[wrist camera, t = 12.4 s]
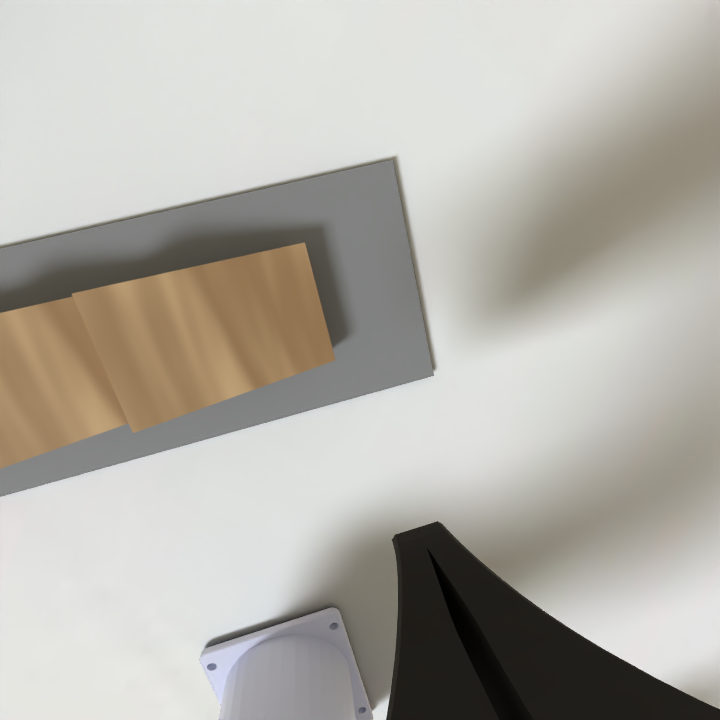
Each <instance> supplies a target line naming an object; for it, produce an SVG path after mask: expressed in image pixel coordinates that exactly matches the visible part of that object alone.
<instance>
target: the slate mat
mask: <svg viewBox="0 0 720 720" xmlns="http://www.w3.org/2000/svg"><path fill="white" fill-rule="evenodd" d="M304 242H305V245H306V248H307V252H308V256H309V260H310V264H311V268H312V272H313V275H314V279H315V283H316V287H317V291H318V295H319V298H320V302H321V306H322V310H323V314H324V318H325V322H326V325H327V329H328V333H329V337H330V341H331V345H332V348H333V352H334V356H335V361H332V362H329V363H327V364H324V365H321V366H318V367H316V368H313V369H310V370H307V371H304V372H302V373H299V374H296V375H293V376H291V377H288V378H285V379H282V380H279V381H277V382H274V383H271V384H268V385H266V386H263V387H260V388H257V389H254V390H252V391H249V392H246V393H243V394H241V395H238V396H235V397H232V398H229V399H227V400H224V401H221V402H218V403H216V404H213V405H210V406H207V407H204V408H202V409H199V410H196V411H193V412H191V413H188V414H185V415H182V416H179V417H177V418H174V419H171V420H168V421H166V422H163V423H160V424H157V425H154V426H152V427H149V428H146V429H143V430H141V431H138V432H135V433H133V432H132V430H131V428H130V425H129V423H128V424H125V425H123V426H120V427H117V428H114V429H111V430H108V431H106V432H103V433H100V434H97V435H94V436H91V437H89V438H86V439H83V440H80V441H77V442H74V443H72V444H69V445H66V446H63V447H60V448H57V449H55V450H52V451H49V452H46V453H43V454H40V455H38V456H35V457H32V458H29V459H26V460H23V461H21V462H18V463H15V464H12V465H9V466H7V467H4V468H1V469H0V497H1V496H5V495H8V494H12V493H15V492H19V491H23V490H26V489H30V488H33V487H37V486H41V485H44V484H48V483H51V482H55V481H58V480H62V479H66V478H69V477H73V476H76V475H80V474H83V473H87V472H91V471H94V470H98V469H101V468H105V467H109V466H112V465H116V464H119V463H123V462H126V461H130V460H134V459H137V458H141V457H144V456H148V455H151V454H155V453H159V452H162V451H166V450H169V449H173V448H177V447H180V446H184V445H187V444H191V443H194V442H198V441H202V440H205V439H209V438H212V437H216V436H220V435H223V434H227V433H230V432H234V431H237V430H241V429H245V428H248V427H252V426H255V425H259V424H262V423H266V422H270V421H273V420H277V419H280V418H284V417H288V416H291V415H295V414H298V413H302V412H305V411H309V410H313V409H316V408H320V407H323V406H327V405H330V404H334V403H338V402H341V401H345V400H348V399H352V398H356V397H359V396H363V395H366V394H370V393H373V392H377V391H381V390H384V389H388V388H391V387H395V386H399V385H402V384H406V383H409V382H413V381H416V380H420V379H424V378H427V377H431V376H434V373H433V368H432V363H431V358H430V352H429V347H428V342H427V337H426V331H425V326H424V321H423V316H422V310H421V305H420V300H419V295H418V289H417V284H416V279H415V274H414V268H413V263H412V258H411V253H410V248H409V242H408V237H407V232H406V227H405V221H404V216H403V211H402V206H401V200H400V195H399V190H398V185H397V179H396V174H395V169H394V164H393V160H388V161H384V162H379V163H375V164H371V165H366V166H362V167H357V168H353V169H349V170H344V171H340V172H335V173H331V174H327V175H322V176H318V177H313V178H309V179H305V180H300V181H296V182H291V183H287V184H282V185H278V186H274V187H269V188H265V189H260V190H256V191H252V192H247V193H243V194H238V195H234V196H230V197H225V198H221V199H216V200H212V201H207V202H203V203H199V204H194V205H190V206H185V207H181V208H177V209H172V210H168V211H163V212H159V213H155V214H150V215H146V216H141V217H137V218H133V219H128V220H124V221H119V222H115V223H110V224H106V225H102V226H97V227H93V228H88V229H84V230H80V231H75V232H71V233H66V234H62V235H58V236H53V237H49V238H44V239H40V240H36V241H31V242H27V243H22V244H18V245H13V246H9V247H5V248H0V313H2V312H7V311H11V310H15V309H20V308H24V307H29V306H33V305H38V304H42V303H46V302H51V301H55V300H60V299H64V298H68V297H73V296H72V294H71V293H76V292H81V291H85V290H90V289H94V288H99V287H103V286H108V285H113V284H117V283H122V282H126V281H131V280H135V279H140V278H145V277H149V276H154V275H158V274H163V273H167V272H172V271H177V270H181V269H186V268H190V267H195V266H199V265H204V264H209V263H213V262H218V261H222V260H227V259H231V258H236V257H241V256H245V255H250V254H254V253H259V252H263V251H268V250H273V249H277V248H282V247H286V246H291V245H295V244H300V243H304Z"/></svg>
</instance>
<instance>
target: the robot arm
mask: <svg viewBox="0 0 720 720" xmlns="http://www.w3.org/2000/svg"><path fill="white" fill-rule="evenodd" d="M392 541H393V545H394V549H395V553H396V560H397V572H398V621H397V639H396V651H395V662H394V670H393V678H392V686H391V694H390V700H389V706H388V712H387V718H386V720H720V709H718V708H715V707H713V706H711V705H709V704H707V703H704V702H702V701H700V700H698V699H696V698H694V697H692V696H690V695H688V694H686V693H684V692H682V691H680V690H678V689H676V688H674V687H672V686H670V685H668V684H666V683H664V682H662V681H660V680H658V679H656V678H654V677H653V676H651V675H649V674H647V673H646V672H644V671H642V670H640V669H638V668H637V667H635V666H633V665H631V664H629V663H628V662H626V661H624V660H622V659H620V658H619V657H617V656H615V655H613V654H611V653H610V652H608V651H606V650H604V649H602V648H601V647H599V646H597V645H596V644H594V643H592V642H591V641H589V640H588V639H586V638H584V637H583V636H581V635H580V634H578V633H576V632H575V631H573V630H571V629H570V628H568V627H567V626H565V625H564V624H562V623H561V622H559V621H558V620H556V619H555V618H553V617H552V616H550V615H549V614H547V613H546V612H545V611H543V610H542V609H540V608H539V607H538V606H536V605H535V604H533V603H532V602H531V601H529V600H528V599H527V598H525V597H524V596H523V595H521V594H520V593H519V592H517V591H516V590H515V589H513V588H512V587H511V586H510V585H508V584H507V583H506V582H505V581H503V580H502V579H501V578H500V577H498V576H497V575H496V574H495V573H494V572H492V571H491V570H490V569H489V568H488V567H487V566H485V565H484V564H483V563H482V562H481V561H480V560H478V559H477V558H476V557H475V556H474V555H473V554H472V553H471V552H470V551H468V550H467V549H466V548H465V547H464V546H463V545H462V544H461V543H460V542H459V541H458V540H457V539H456V538H455V537H454V536H453V535H452V534H451V533H450V532H449V531H448V530H447V529H446V528H445V527H444V526H443V524H441V523H440V522H438V521H437V522H434V523H431V524H428V525H425V526H422V527H418V528H415V529H412V530H409V531H406V532H403V533H400V534H396V535H395V536H394V538H393V539H392ZM332 623H335V624H332ZM200 664H201V666H202V668H203V670H204V672H205V674H206V676H207V678H208V680H209V682H210V684H211V686H212V688H213V691H214V693H215V695H216V697H217V699H218V701H219V703H220V705H221V709H220V714H219V720H373V713H372V709H371V706H370V703H369V700H368V697H367V694H366V691H365V688H364V685H363V682H362V679H361V676H360V672H359V669H358V666H357V663H356V660H355V657H354V654H353V651H352V648H351V645H350V642H349V639H348V635H347V632H346V629H345V626H344V623H343V620H342V617H341V614H340V611H339V610H338V609H337V608H333V607H332V608H328V609H324V610H321V611H318V612H315V613H312V614H309V615H306V616H303V617H300V618H297V619H294V620H291V621H288V622H285V623H281V624H278V625H275V626H272V627H269V628H266V629H263V630H260V631H257V632H254V633H251V634H248V635H245V636H242V637H238V638H235V639H232V640H229V641H226V642H223V643H220V644H217V645H214V646H211V647H208V648H206V649H204V650H203V651H202V653H201V656H200Z"/></svg>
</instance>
